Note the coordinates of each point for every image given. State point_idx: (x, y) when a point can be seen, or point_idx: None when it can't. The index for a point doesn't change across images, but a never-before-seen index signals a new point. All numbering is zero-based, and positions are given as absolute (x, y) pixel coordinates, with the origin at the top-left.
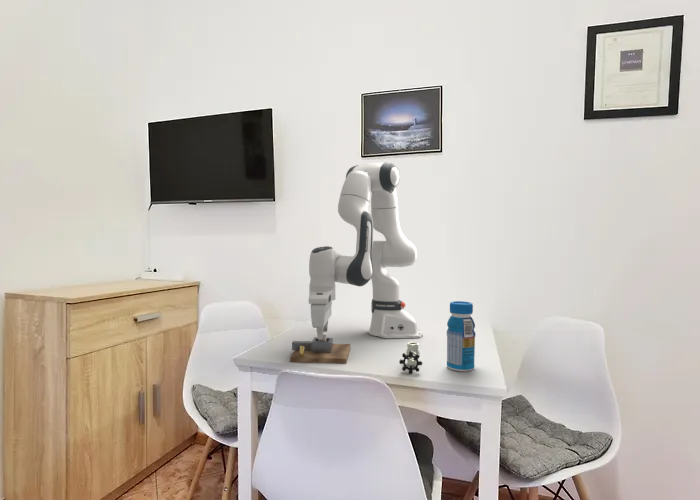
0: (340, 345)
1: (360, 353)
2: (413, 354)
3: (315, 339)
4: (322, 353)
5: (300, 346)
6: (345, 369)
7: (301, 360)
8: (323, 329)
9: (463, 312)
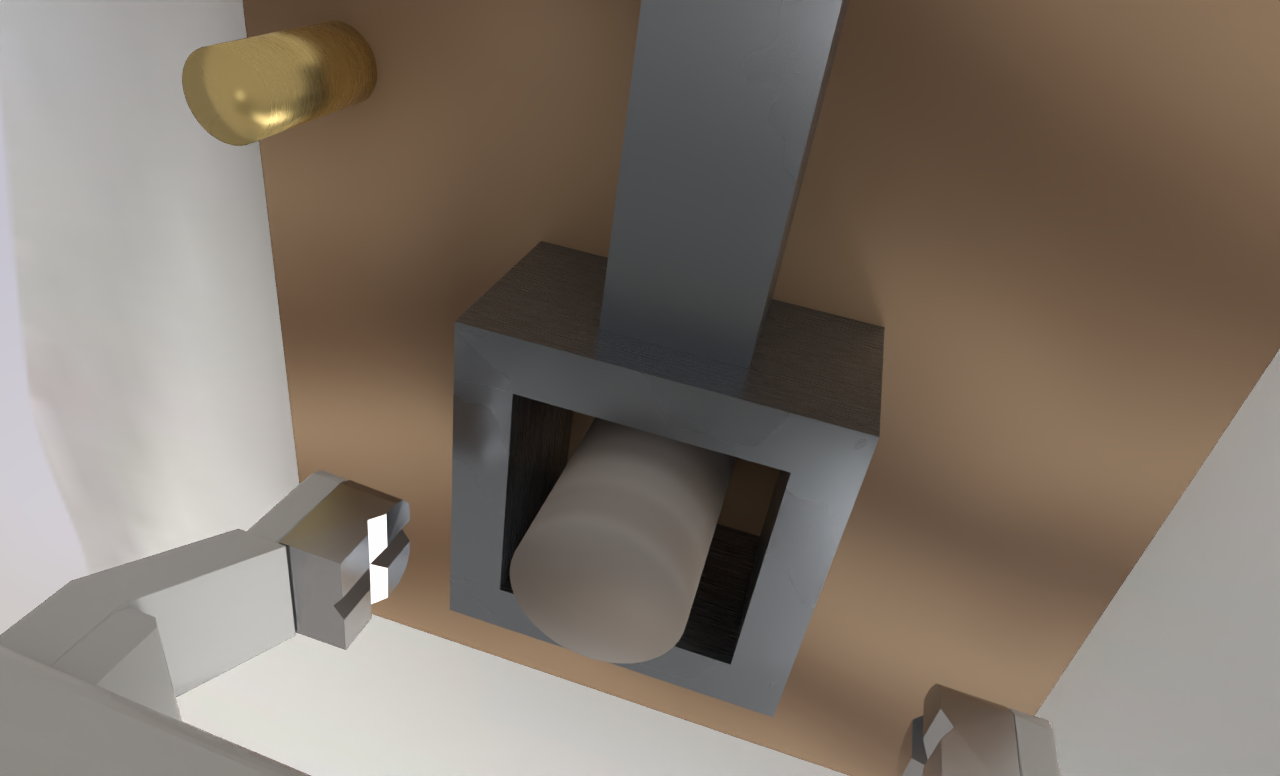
0: (923, 700)
1: (708, 766)
2: None
3: (662, 425)
4: None
5: (207, 63)
6: (176, 506)
7: None
8: (939, 751)
9: None
